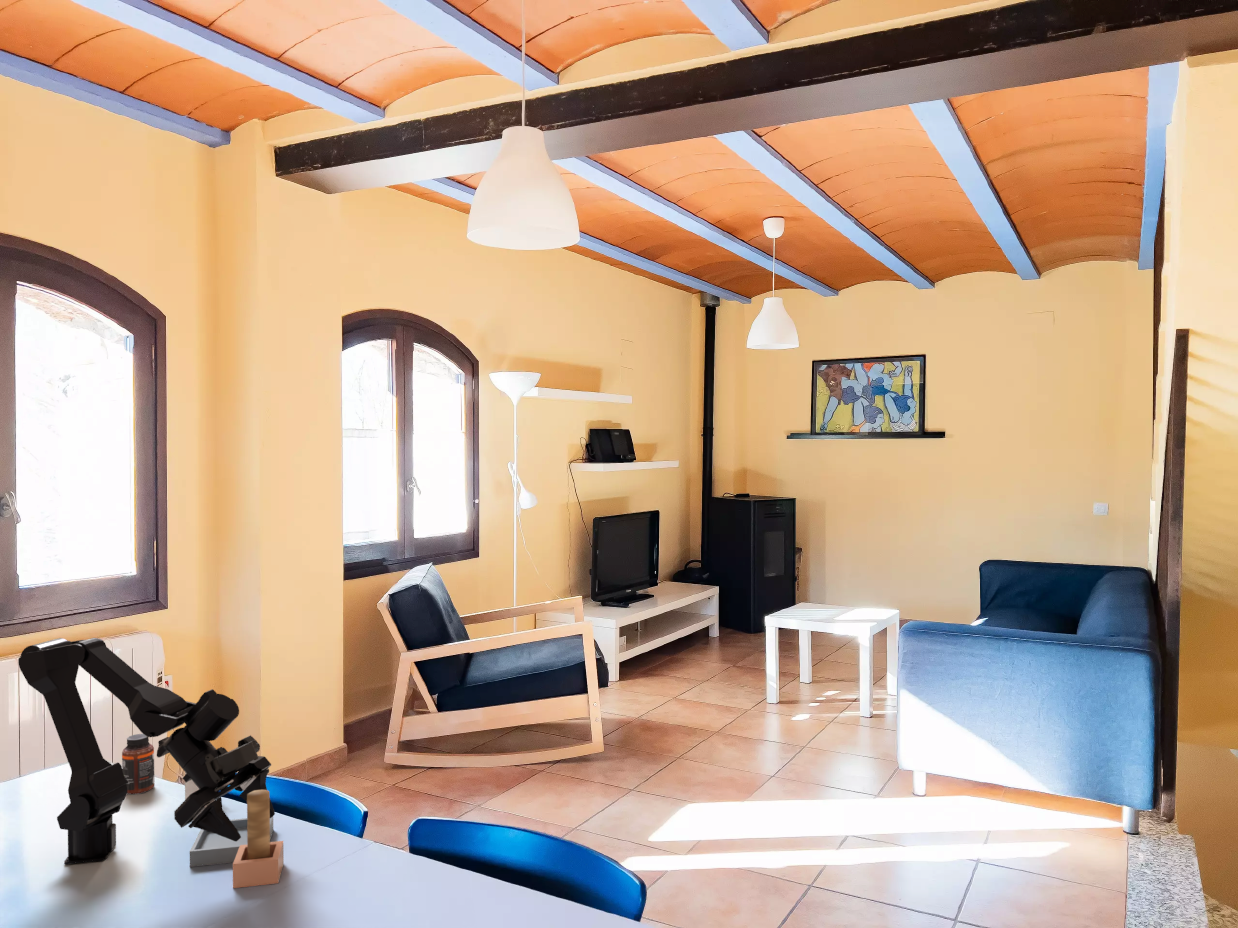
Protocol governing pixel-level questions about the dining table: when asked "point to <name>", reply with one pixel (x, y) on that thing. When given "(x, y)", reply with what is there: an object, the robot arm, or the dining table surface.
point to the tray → (219, 845)
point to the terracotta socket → (258, 867)
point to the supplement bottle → (138, 764)
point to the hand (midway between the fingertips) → (256, 827)
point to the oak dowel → (258, 824)
